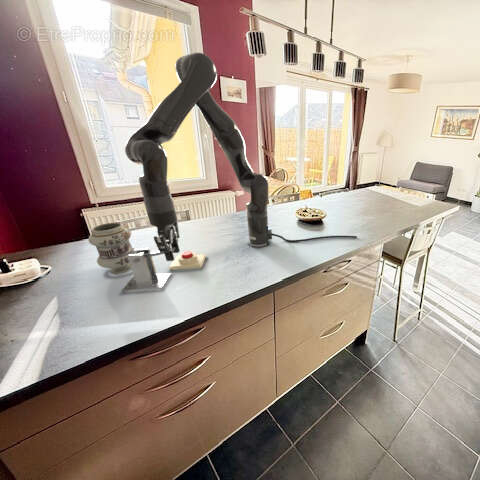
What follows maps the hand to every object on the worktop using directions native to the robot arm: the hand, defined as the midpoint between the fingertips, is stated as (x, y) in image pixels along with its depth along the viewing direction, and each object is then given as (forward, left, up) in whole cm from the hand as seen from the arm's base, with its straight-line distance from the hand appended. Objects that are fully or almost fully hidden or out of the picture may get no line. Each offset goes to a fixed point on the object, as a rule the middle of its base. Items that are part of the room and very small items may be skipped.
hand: (173, 256), depth 82 cm
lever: (+5, 0, 0) cm, 5 cm away
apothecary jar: (+23, -11, -11) cm, 28 cm away
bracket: (+10, 0, -11) cm, 15 cm away
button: (0, -12, -7) cm, 14 cm away
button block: (0, -12, -11) cm, 16 cm away
